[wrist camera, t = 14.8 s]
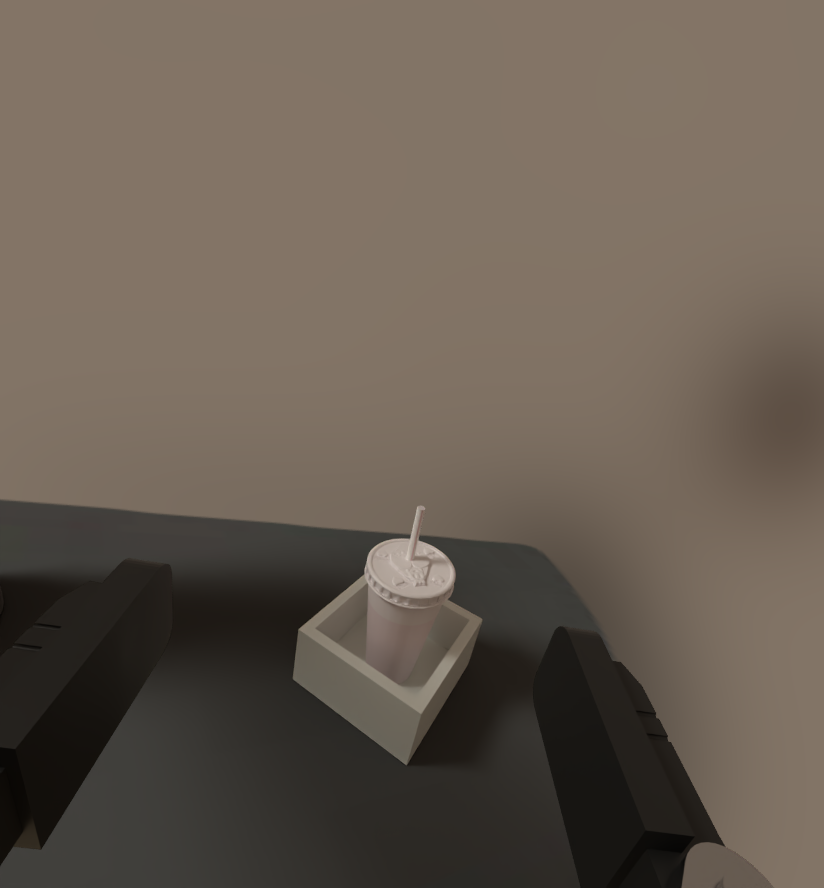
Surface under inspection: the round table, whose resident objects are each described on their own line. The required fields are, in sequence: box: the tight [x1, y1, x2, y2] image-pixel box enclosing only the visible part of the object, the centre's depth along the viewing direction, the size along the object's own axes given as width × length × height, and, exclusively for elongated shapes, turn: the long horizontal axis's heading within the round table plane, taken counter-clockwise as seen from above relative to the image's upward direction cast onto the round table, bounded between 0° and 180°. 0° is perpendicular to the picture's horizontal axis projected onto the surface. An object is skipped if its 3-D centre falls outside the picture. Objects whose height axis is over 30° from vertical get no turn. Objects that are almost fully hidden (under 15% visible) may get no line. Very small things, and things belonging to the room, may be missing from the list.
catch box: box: [293, 574, 483, 766], centre depth 35 cm, size 10×10×5 cm
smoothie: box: [364, 506, 456, 684], centre depth 32 cm, size 6×6×14 cm
